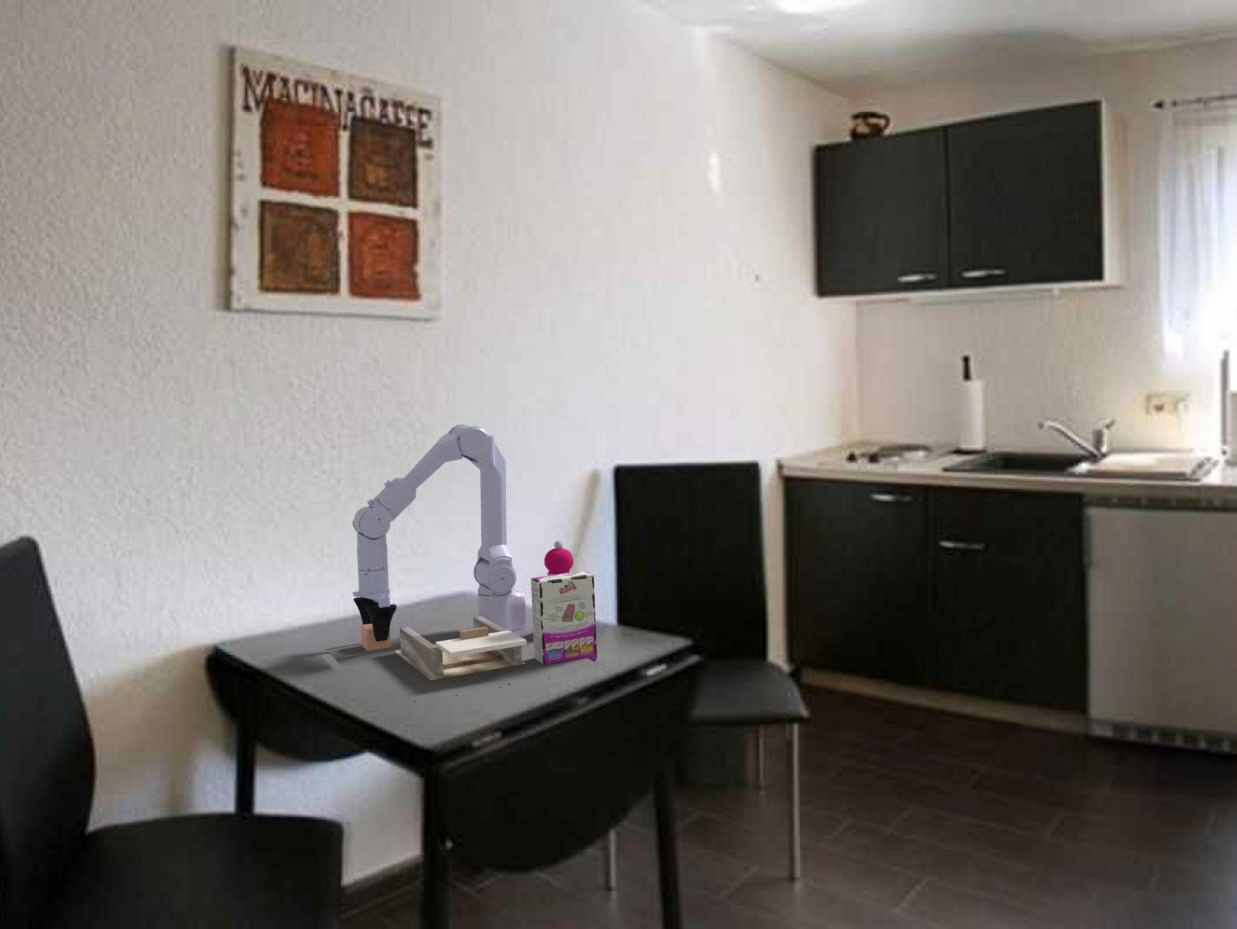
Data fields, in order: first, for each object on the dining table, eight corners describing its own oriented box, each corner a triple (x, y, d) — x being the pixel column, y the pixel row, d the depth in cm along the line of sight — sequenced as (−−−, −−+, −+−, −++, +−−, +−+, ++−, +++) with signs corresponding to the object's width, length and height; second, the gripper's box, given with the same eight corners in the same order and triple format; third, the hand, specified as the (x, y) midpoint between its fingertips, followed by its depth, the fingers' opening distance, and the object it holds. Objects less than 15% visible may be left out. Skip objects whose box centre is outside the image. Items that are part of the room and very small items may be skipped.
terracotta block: (384, 644, 197) (383, 621, 196) (390, 649, 193) (389, 626, 192) (361, 647, 194) (360, 625, 194) (367, 652, 191) (367, 630, 190)
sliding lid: (508, 634, 181) (508, 623, 181) (526, 644, 174) (526, 632, 174) (435, 646, 174) (435, 634, 174) (451, 657, 167) (450, 644, 167)
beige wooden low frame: (481, 641, 199) (480, 613, 199) (526, 668, 180) (525, 637, 180) (394, 655, 190) (392, 626, 190) (431, 685, 171) (430, 652, 171)
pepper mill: (543, 633, 205) (540, 538, 203) (577, 632, 205) (575, 537, 203) (543, 642, 197) (540, 544, 196) (579, 641, 198) (577, 543, 196)
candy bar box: (586, 654, 189) (584, 569, 187) (597, 660, 184) (595, 574, 183) (532, 663, 184) (529, 576, 182) (543, 669, 179) (540, 581, 178)
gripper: (343, 564, 197) (346, 631, 198) (362, 576, 184) (365, 647, 185) (378, 560, 200) (380, 626, 201) (399, 572, 187) (402, 642, 189)
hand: (376, 636), depth 193 cm, fingers open, 7 cm apart
